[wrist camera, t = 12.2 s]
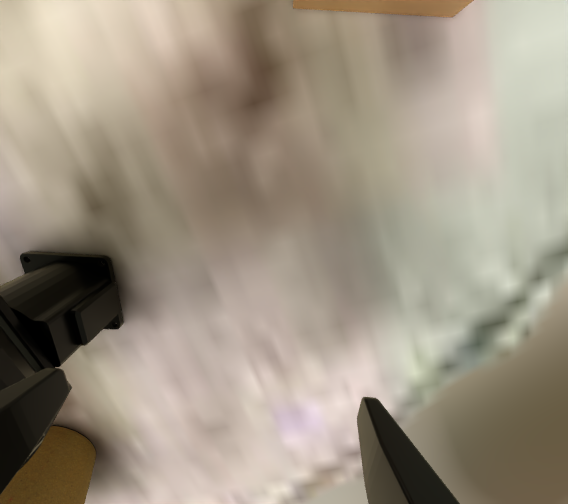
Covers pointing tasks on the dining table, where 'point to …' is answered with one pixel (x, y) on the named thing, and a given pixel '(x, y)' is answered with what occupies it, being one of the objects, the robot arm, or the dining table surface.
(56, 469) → the plant pot
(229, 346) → the dining table surface
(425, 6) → the terracotta tile
